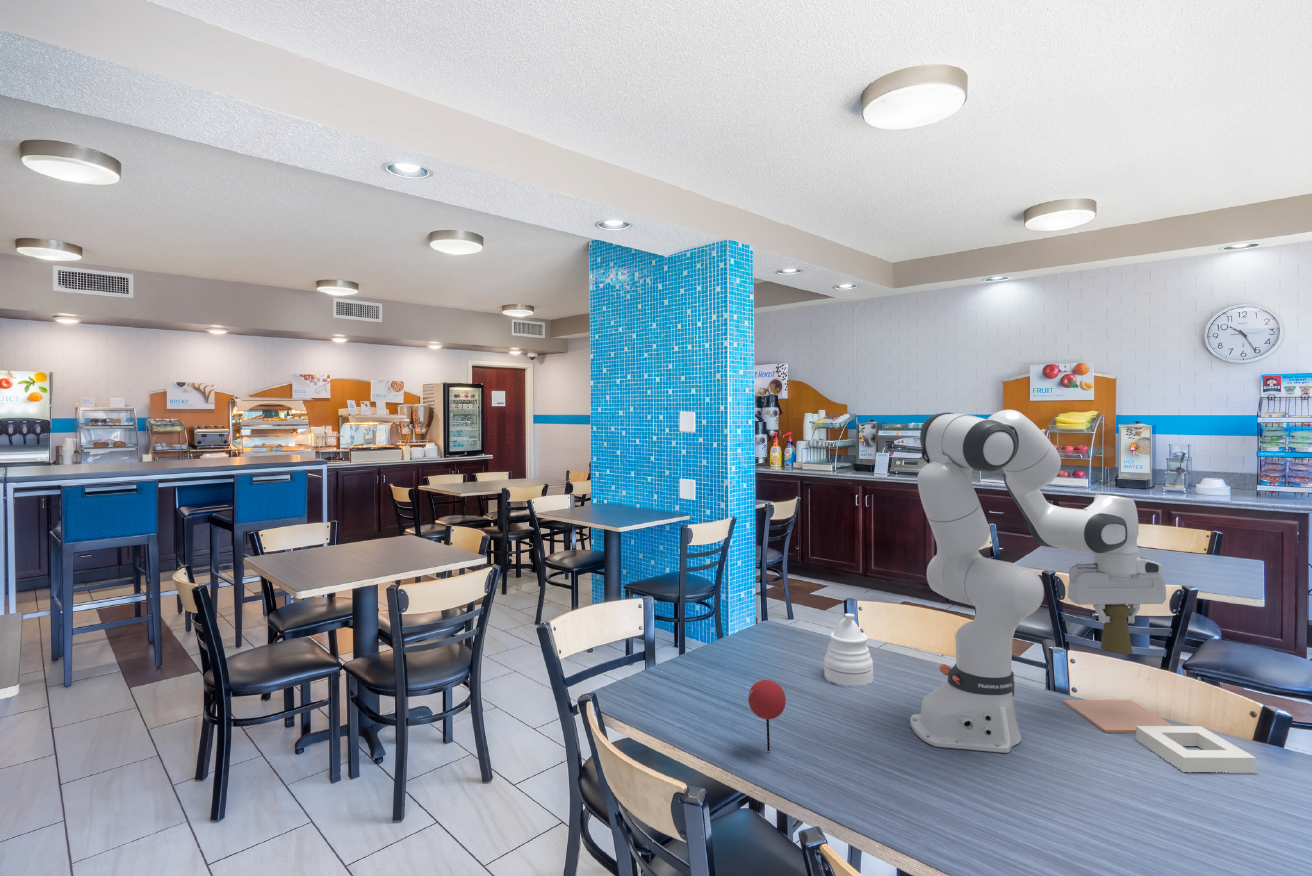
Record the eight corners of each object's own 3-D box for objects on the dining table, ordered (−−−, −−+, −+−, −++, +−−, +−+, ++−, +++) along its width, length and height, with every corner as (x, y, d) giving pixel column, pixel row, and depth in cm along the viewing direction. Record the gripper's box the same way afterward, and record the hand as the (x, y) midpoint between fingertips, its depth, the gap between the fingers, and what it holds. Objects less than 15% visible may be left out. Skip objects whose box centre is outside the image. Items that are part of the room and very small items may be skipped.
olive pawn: (1138, 654, 145) (1137, 606, 145) (1108, 653, 146) (1107, 605, 146) (1124, 645, 151) (1123, 599, 151) (1095, 644, 152) (1094, 598, 152)
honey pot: (880, 687, 169) (878, 619, 169) (831, 687, 169) (830, 619, 169) (864, 669, 182) (863, 606, 182) (819, 670, 182) (818, 606, 182)
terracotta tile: (1105, 732, 141) (1105, 730, 141) (1063, 702, 157) (1062, 699, 157) (1180, 732, 140) (1180, 730, 140) (1130, 702, 156) (1130, 699, 156)
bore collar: (1184, 772, 124) (1183, 757, 124) (1136, 740, 137) (1135, 726, 137) (1256, 773, 123) (1256, 757, 123) (1200, 740, 137) (1200, 726, 137)
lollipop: (763, 739, 141) (762, 671, 141) (793, 751, 136) (792, 680, 136) (742, 752, 136) (741, 681, 136) (772, 764, 130) (770, 691, 130)
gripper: (1077, 566, 146) (1078, 627, 146) (1170, 565, 145) (1171, 626, 145) (1061, 561, 152) (1062, 619, 152) (1150, 560, 151) (1151, 618, 151)
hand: (1116, 622), depth 148 cm, fingers closed on olive pawn, 4 cm apart
